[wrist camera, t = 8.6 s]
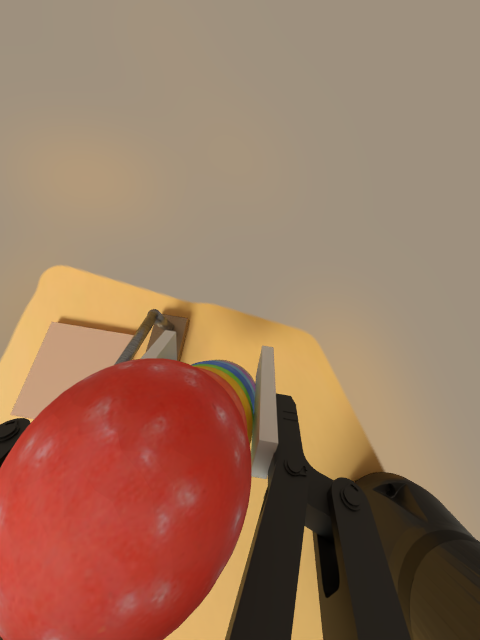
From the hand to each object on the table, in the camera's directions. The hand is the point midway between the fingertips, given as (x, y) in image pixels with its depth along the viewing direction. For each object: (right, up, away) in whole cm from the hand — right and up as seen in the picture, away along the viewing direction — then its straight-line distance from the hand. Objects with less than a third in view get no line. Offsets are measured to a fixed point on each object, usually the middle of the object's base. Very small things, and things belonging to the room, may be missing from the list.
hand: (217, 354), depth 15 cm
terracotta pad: (-23, -6, +18) cm, 30 cm away
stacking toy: (-1, -6, +6) cm, 8 cm away
